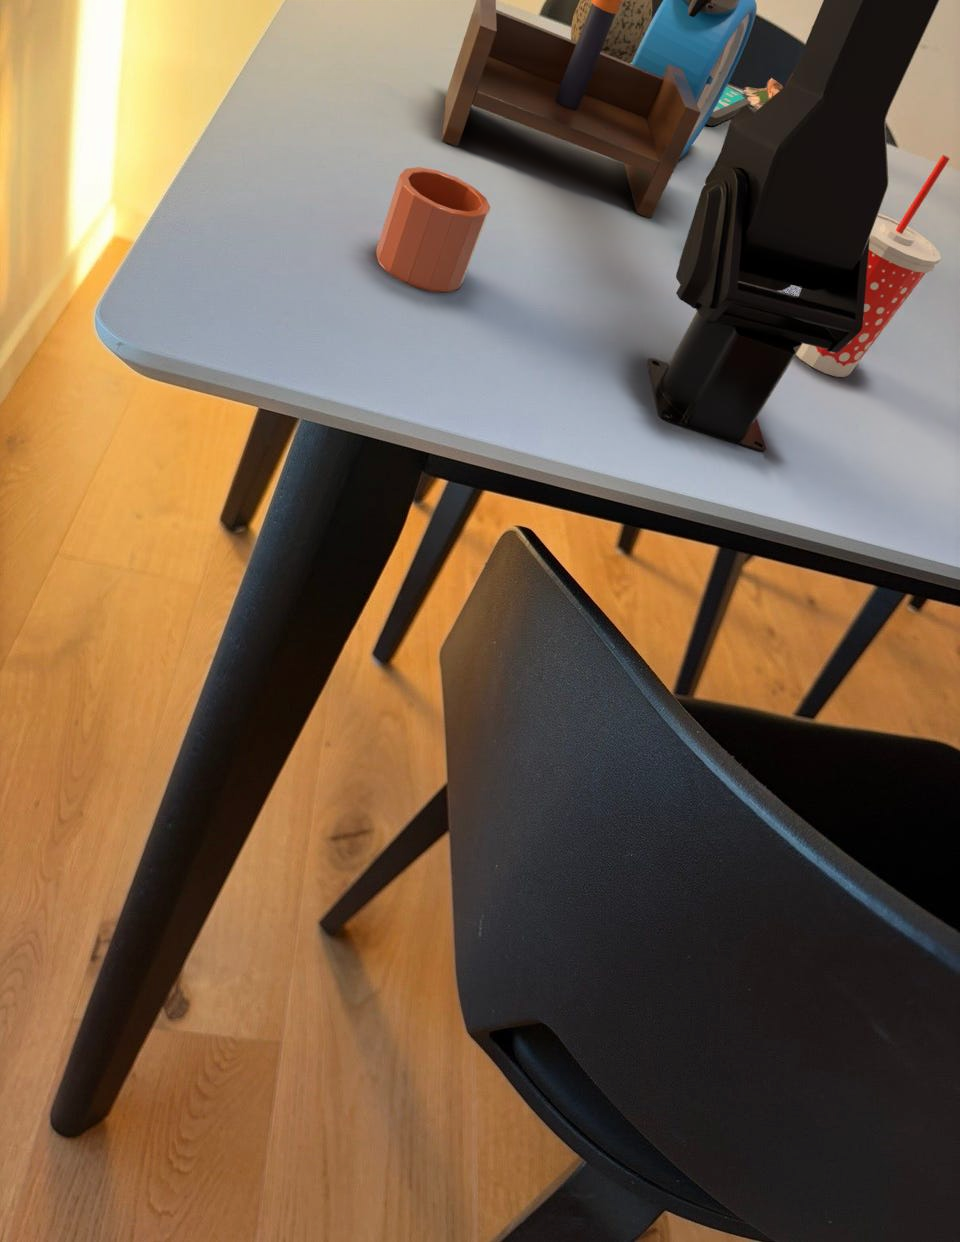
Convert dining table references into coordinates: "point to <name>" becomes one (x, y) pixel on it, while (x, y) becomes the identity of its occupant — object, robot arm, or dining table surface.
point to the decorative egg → (619, 27)
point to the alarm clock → (698, 48)
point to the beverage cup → (883, 283)
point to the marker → (587, 52)
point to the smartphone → (727, 106)
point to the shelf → (608, 112)
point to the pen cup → (431, 229)
